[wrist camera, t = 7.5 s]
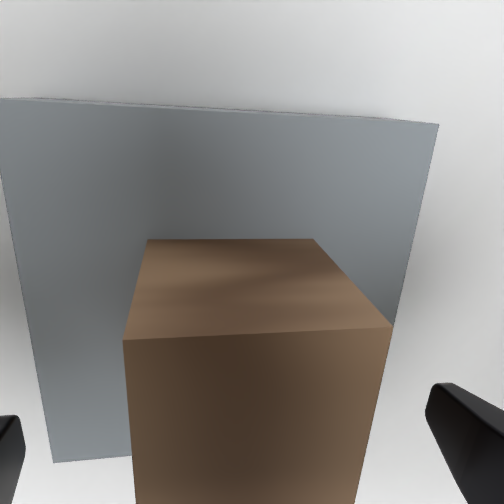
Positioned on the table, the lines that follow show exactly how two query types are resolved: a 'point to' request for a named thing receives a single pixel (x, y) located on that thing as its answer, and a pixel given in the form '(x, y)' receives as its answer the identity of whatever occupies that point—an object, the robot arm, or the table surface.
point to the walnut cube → (249, 373)
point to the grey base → (183, 222)
